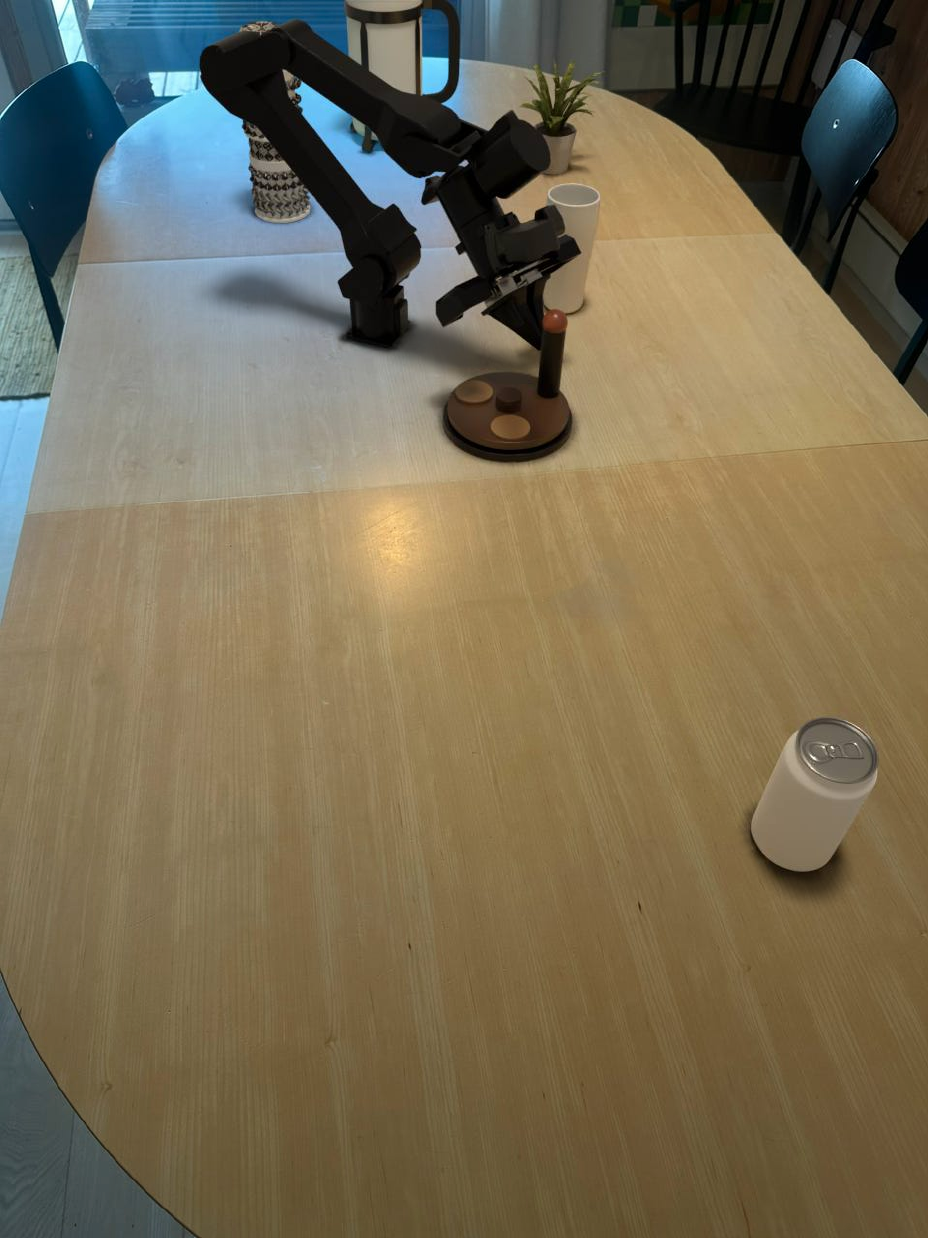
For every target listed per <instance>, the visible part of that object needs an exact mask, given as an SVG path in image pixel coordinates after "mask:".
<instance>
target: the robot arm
mask: <svg viewBox="0 0 928 1238" xmlns="http://www.w3.org/2000/svg"><path fill="white" fill-rule="evenodd" d="M278 25H279V26H277V27H275V28H273V29H271V30H269V32H266V33H264V34H262V35H259V34H257V33H256V32H254V31H253V32H251V31H245V30H244V31H241V32H239V31H238V32H235V33H234V34H231V35H229V36H227V37H224V38H223V39H220V40H218V41H215V42H214V43H211V44H208V45H207V46H206V47H204V48H203V50H202V51H201V53H200V56H199V65H198V66H199V72H200V75H199V78H200V81H201V83H202V85H203V86H204V88H205V90H206V91H207V92H208V94H209V95H210V96H211V97H212V98H213V99H214V100H215V101H216V102H218V103H219V104H220V105H221V106H222V107H223V109H225V110H226V111H227V112H228V113H229V114H230V115H232V116H234V117H236V118H238V119H240V120H242V121H243V120H244V121H246V122H248V123H250V124H252V125H254V126H256V127H257V128H258V129H259V130H260V131H261V132H262V134H263V135H264V136H265V137H266V139H267V140H268V141H269V142H270V144H271V145H272V146H273V147H274V149H275V150H276V151H277V152H278V154H279V155H280V156H281V157H282V159H283V160H284V161H285V162H286V164H287V165H288V166H289V167H290V169H291V170H292V171H293V172H294V174H295V175H296V176H297V177H298V179H299V180H300V181H301V182H302V184H303V185H304V186H305V187H306V189H307V190H308V191H309V194H310V195H311V196H312V197H313V198H314V200H315V201H316V202H317V204H318V205H319V206H320V207H321V209H322V210H323V211H324V212H325V214H326V215H327V216H328V217H329V219H330V220H331V221H332V222H333V224H334V225H335V226H336V228H337V229H338V230H339V232H340V236H341V241H342V246H343V250H344V254H345V257H346V259H347V261H348V262H349V264H350V266H351V267H352V268H351V269H349V271H347V272H346V273H345V274H344V275H342V276H341V277H340V278H339V279H338V280H337V286H338V289H339V290H340V293H341V297H343V299H347V300H348V301H349V316H350V328H349V329H348V330H347V332H346V333H345V338H346V339H347V340H348V339H349V340H352V341H356V342H362V343H366V344H368V345H369V344H370V345H374V346H378V347H382V348H387V349H391V348H393V347H394V346H395V344H397V342H398V341H399V340H400V339H401V337H403V335H404V334H405V333H406V332H407V330H408V329H409V327H410V326H411V321H410V320H409V301H408V299H407V298H405V286H404V285H401V283H402V282H404V281H405V280H407V279H408V278H409V277H410V274H411V272H412V271H414V270H415V269H416V268H417V267H418V266H419V265H420V262H421V258H422V243H421V241H420V239H419V238H418V236H417V234H416V232H417V231H418V228H416V226H415V225H412V224H411V222H410V221H408V219H407V217H405V215H404V213H403V211H402V210H401V208H400V207H399V206H398V205H396V203H391V204H390V205H389V206H387V207H386V208H383V207H382V206H379V205H378V204H376V203H374V202H372V201H371V199H369V198H368V196H367V195H366V193H365V192H364V191H363V190H362V189H361V188H360V186H359V184H357V182H356V181H355V180H354V178H353V177H352V175H350V173H349V172H348V171H347V169H346V168H345V167H344V166H343V164H342V163H341V162H340V161H339V160H338V158H337V157H336V156H335V154H334V153H333V152H332V150H331V149H330V148H329V147H328V145H327V144H326V142H325V141H324V140H323V139H322V138H321V136H320V135H319V134H318V133H317V131H316V130H315V129H314V127H313V126H312V125H311V124H310V123H309V121H308V120H307V119H306V117H305V116H304V115H303V113H302V114H301V112H300V111H299V110H298V108H297V107H296V106H295V105H294V103H293V102H292V101H291V99H290V97H289V95H288V91H287V86H286V82H285V78H284V73H283V70H286V71H287V72H289V73H290V74H292V75H293V76H295V77H296V78H297V79H299V80H300V81H301V83H303V84H304V85H306V86H307V87H309V88H311V90H313V91H315V92H316V93H318V94H319V95H320V96H322V97H323V98H325V99H326V100H328V101H329V102H331V103H332V104H333V105H335V106H336V107H337V108H339V109H340V110H341V111H344V112H345V113H346V114H348V115H349V116H351V118H352V119H353V118H355V119H356V120H358V121H359V122H361V123H362V124H364V125H365V126H366V127H368V128H369V129H370V130H371V131H372V132H373V133H374V134H375V135H376V136H377V138H378V140H379V141H378V142H379V144H380V146H381V148H382V150H383V152H384V153H385V154H386V156H388V157H389V158H390V159H391V160H392V161H393V162H394V163H395V164H396V165H398V166H399V168H401V169H402V170H403V171H404V172H405V173H406V174H408V175H409V176H411V177H413V178H417V179H422V178H425V179H424V189H423V191H422V194H421V199H420V203H421V205H422V206H427V205H431V204H434V203H436V202H439V203H440V206H441V207H442V209H443V212H444V213H445V215H446V217H447V219H448V221H449V223H450V225H451V227H452V229H453V231H454V233H455V234H456V237H457V238H458V241H459V243H457V245H455V246H454V250H455V251H456V254H457V255H458V256H461V255H464V254H465V255H466V256H467V258H468V260H469V261H470V264H471V265H472V268H473V270H474V271H475V273H476V276H474V277H472V278H470V279H468V280H465V281H463V282H461V283H459V284H457V285H455V286H454V287H453V288H451V289H450V290H449V291H447V292H446V293H445V294H443V295H442V296H441V297H440V298H438V299H437V300H436V301H435V316H436V318H437V320H438V321H439V323H440V325H441V327H442V328H445V327H447V326H449V325H451V324H453V323H455V322H457V321H459V320H461V319H462V318H464V314H465V313H466V312H467V311H468V310H470V309H472V308H475V307H476V306H478V305H480V304H482V303H483V304H484V305H485V307H486V308H484V310H482V311H481V312H480V314H481V315H482V317H485V316H489V317H491V318H492V319H494V320H496V321H497V322H499V323H500V324H502V325H503V326H504V327H506V328H507V329H509V330H511V331H512V332H513V333H514V334H516V335H517V336H518V337H520V338H521V339H522V340H524V341H525V342H526V343H527V344H529V345H530V346H532V347H533V348H534V349H535V350H537V351H538V352H540V351H541V340H542V329H543V326H542V320H543V317H544V315H545V312H544V301H543V296H544V288H545V284H546V281H547V280H549V279H550V278H551V274H552V273H554V272H555V271H557V270H558V269H560V268H561V267H563V266H564V265H566V264H567V263H569V262H570V261H572V260H573V259H574V258H576V257H577V256H579V255H580V254H582V253H581V251H580V249H579V247H578V245H577V243H576V241H575V239H574V238H573V237H571V236H569V235H566V234H565V235H563V236H561V237H559V238H558V236H560V235H562V234H564V232H565V225H564V221H563V218H562V216H561V214H560V213H559V211H558V209H557V208H556V206H555V205H548V206H546V205H545V206H543V207H540V208H538V209H536V210H535V211H534V217H533V218H532V219H530V220H528V221H525V222H521V221H520V220H519V218H518V216H517V214H516V213H514V212H513V211H509V212H506V213H505V211H504V210H503V207H502V206H501V203H500V202H499V200H498V199H501V200H507V199H510V198H511V197H513V196H514V195H515V194H517V193H518V192H519V191H520V190H522V189H523V188H524V187H526V186H527V185H529V184H530V183H532V181H534V180H535V179H537V178H538V177H539V176H541V175H542V174H544V173H543V172H544V171H546V170H547V169H548V168H549V166H550V162H551V155H550V150H549V147H548V144H547V142H546V140H545V138H544V136H543V135H542V133H541V132H540V131H539V130H538V131H537V130H536V129H535V127H534V126H535V125H532V124H531V122H529V121H527V120H525V119H521V118H519V117H518V115H517V114H516V112H515V111H514V110H513V109H509V110H508V111H507V112H505V113H504V114H503V115H502V116H501V117H499V118H498V119H497V120H496V121H495V122H494V124H493V125H492V127H491V128H490V129H485V128H483V127H480V126H478V125H476V124H473V123H471V122H469V121H467V120H464V119H462V118H460V117H459V115H458V114H457V113H456V112H455V111H454V110H453V109H452V108H451V107H449V106H447V105H445V104H444V103H438V102H436V101H434V100H432V99H430V98H428V97H425V96H422V95H417V94H412V93H407V92H402V91H400V90H398V89H396V88H394V87H392V86H391V85H389V84H388V83H386V82H385V81H383V80H382V79H381V78H379V77H378V76H376V75H375V74H373V73H372V72H370V71H369V70H368V69H366V68H365V67H363V66H362V65H360V64H359V63H358V62H356V61H355V60H353V59H352V58H350V57H349V55H347V54H346V53H345V52H343V51H342V50H340V49H339V48H338V47H336V46H335V45H333V44H332V43H331V42H329V41H327V40H326V39H324V38H323V37H322V36H320V35H319V34H317V33H316V32H315V31H314V30H313V29H312V27H311V25H309V24H308V23H307V22H306V21H304V20H302V19H296V18H294V19H293V18H292V19H290V20H288V21H285V22H283V23H281V24H278ZM282 69H283V70H282ZM465 161H466V162H467V164H466V165H461V164H462V163H464V162H465ZM435 173H443V174H442V175H441V176H440V175H433V174H435Z"/></svg>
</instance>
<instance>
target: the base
mask: <svg viewBox="0 0 928 1238" xmlns="http://www.w3.org/2000/svg"><path fill="white" fill-rule="evenodd" d="M447 404H448V400H447V401H446V402H445V405H444V407H443V410H442V411H443V413H442V426H443V429H444V432H445V434H446V435H447V437H448V438H449V439H450V441H451V442H452V443H453V444H454V445H455V446H457V447H458V448H459V449H460V450H462V451H463V452H466V453H467V454H470V455H473V456H474V457H477V458H480V459H484V460H488V461H493V462H501V463H522V462H529V461H534V460H538V459H540V458H545V457H546V456H548V455H551V454H552V453H554V452H556V451H557V450H559V449H560V448H562V447H563V445H564V444H565V443H566V442H567V441H568V439H569V438H570V436H571V433H572V430H573V429H572V428H573V421H574V420H573V414H572V410H571V408H570V407H569V418H568V423H567V425H566V427H565V429H564V430H563V431H562V433H561V434H560V435H559V436H557V437H556V438H555V439H553V440H551V441H549V442H548V443H545V444H543V445H540V446H537V447H533V448H528V449H520V450H502V449H495V448H490V447H486V446H482V445H479V444H477V443H474V442H472V441H470V440H468V439H466V438H465V437H463V436H462V435H460V434H459V433H458V432H457V431H456V430H455V429H454V428H453V426H452V425H451V423H450V421H449V418H448V413H447Z"/></svg>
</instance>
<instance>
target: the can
mask: <svg viewBox="0 0 928 1238" xmlns="http://www.w3.org/2000/svg"><path fill="white" fill-rule="evenodd" d="M879 754H880V753H879V750H878V748H877V745H876V743H875V742H874V740H873V738H872V737H870V735H869V734H868V733H867V732H866V731H865V730H864V729H863V728H861V727H859V726H858V725H856V724H855V723H853V722H850V721H849V720H846V719H843V718H839V717H834V716H819V717H815V718H811V719H810V720H808V721H806V722H805V723H803V724H802V725H801V726H800V728H799V729H797V730H796V731H794V732H793V733H792V734H791V736H790V737H789V738H788V740H787V741H786V743H785V745H784V747H783V749H782V751H781V753H780V756H779V757H778V760H777V762H776V764H775V767H774V768H773V770H772V773H771V775H770V777H769V780H768V782H767V784H766V785H765V788H764V790H763V793H762V795H761V797H760V799H759V802H758V804H757V806H756V808H755V811H754V813H753V816H752V820H751V823H750V830H751V835H752V839H753V840H754V842H755V845H756V846H757V848H758V849H759V851H760V852H761V854H763V855H764V856H765V858H767V860H769V861H771V862H772V863H773V864H775V865H777V866H779V867H781V868H783V869H786V870H789V871H793V872H812V871H815V870H818V869H820V868H822V867H823V866H825V865H826V864H827V863H828V862H829V861H830V860H831V859H832V857H833V856H834V854H835V853H836V851H837V849H838V848H839V846H840V844H841V843H842V841H843V840H844V838H845V836H846V834H847V833H848V832H849V829H850V828H851V826H852V824H853V823H854V821H855V820H856V818H857V817H858V815H859V813H860V811H861V809H862V808H863V806H864V804H865V802H866V801H867V799H868V798H869V796H870V794H871V793H872V792H873V791H872V790H873V789H874V787H875V785H876V782H877V778H878V767H879V762H880V756H879Z"/></svg>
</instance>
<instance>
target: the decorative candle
mask: <svg viewBox="0 0 928 1238" xmlns="http://www.w3.org/2000/svg"><path fill="white" fill-rule="evenodd" d="M279 25H280V24H279V23H275V22H272V21H252V22H248V23H245V24H243V25H242V26H241V27H240V28H239V29H238V30H239V31H238V32H241V31H244V30H245V31H251V32H253V31H254V32H256V33H257V34H259V35H262V34H264V33H266V32H269V30H271V29H273V28H275V27H277V26H279ZM282 70H283V69H282ZM283 73H284V78H285V82H286V86H287V91H288V95H289V97H290V99H291V101H292V102H293V103H294V105H295V106H296V107H297V108H298V110H299V111H300V112H301V114H302V115H303V111H304V109H303V107H302V106H300V105H299V104H300V103H302V95H301V94H299V93H297V91H296V90H298V89H299V88H301V86H302V81H300V80H299V79H297V78H296V77H295V76H293V75H292V74H290V73H289V72H287V71H286V70H283ZM241 128H242V130H243V133H244V135H245V136H246V137H247V138H248V147H249V152H248V155H249V156H248V159H249V165H248V167H247V169H248V171H249V172H250V177H249V181H250V182H251V183H252V187H251V189H250V190H251V191H250V192H251V195H252V196H253V198H252V203H253V205H254V206H255V209H254V214H255V215H256V216H257V218H258V219H260V220H262V221H264V222H269V223H274V224H288V223H294V222H298V221H300V220H303V219H305V218H306V217H307V216H308V215H310V213H311V205H310V203H311V202H310V200H311V196H310V195H309V194H310V192H309V191H308V190H307V189H306V187H305V186H304V185H303V184H302V182H301V181H300V180H299V179H298V177H297V176H296V175H295V174H294V172H293V171H292V170H291V169H290V167H289V166H288V165H287V164H286V162H285V161H284V160H283V159H282V157H281V156H280V155H279V154H278V152H277V151H276V150H275V149H274V147H273V146H272V145H271V144H270V142H269V141H268V140H267V139H266V137H265V136H264V135H263V134H262V132H261V131H260V130H259V129H258V128H257V127H256V126H254V125H252V124H250V123H248V122H246V121H244V120H242V125H241Z"/></svg>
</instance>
